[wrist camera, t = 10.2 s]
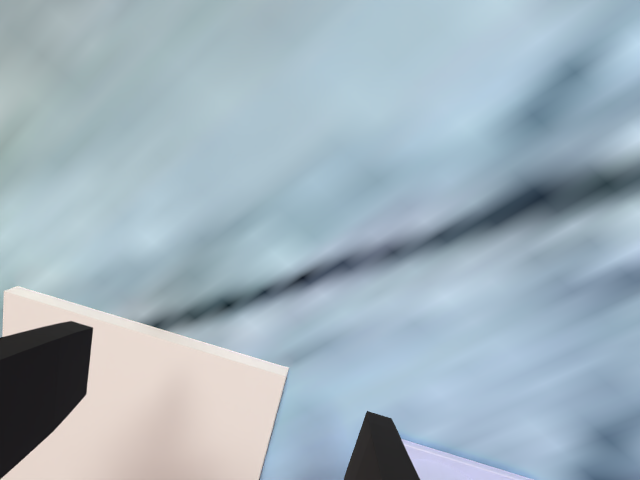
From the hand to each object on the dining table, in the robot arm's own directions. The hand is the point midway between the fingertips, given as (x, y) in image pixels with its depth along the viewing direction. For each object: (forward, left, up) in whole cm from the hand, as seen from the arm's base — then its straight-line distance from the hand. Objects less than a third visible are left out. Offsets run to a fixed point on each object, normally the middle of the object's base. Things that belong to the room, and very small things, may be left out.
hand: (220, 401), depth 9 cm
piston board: (+7, +17, -9) cm, 21 cm away
